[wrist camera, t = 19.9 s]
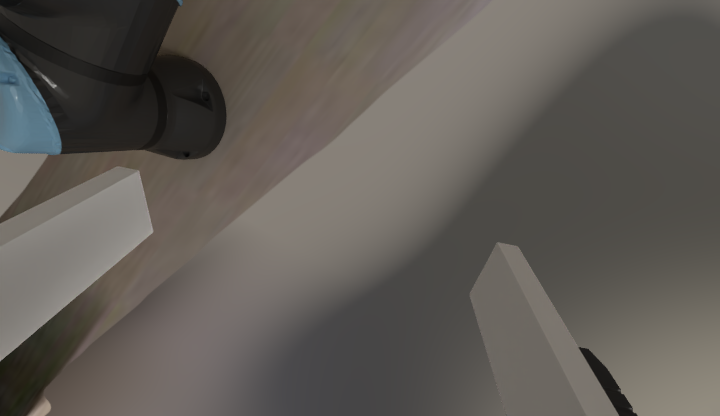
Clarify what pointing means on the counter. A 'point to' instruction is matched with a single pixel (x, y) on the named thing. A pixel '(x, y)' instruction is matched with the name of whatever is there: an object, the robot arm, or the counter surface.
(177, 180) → the counter surface
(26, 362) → the counter surface
